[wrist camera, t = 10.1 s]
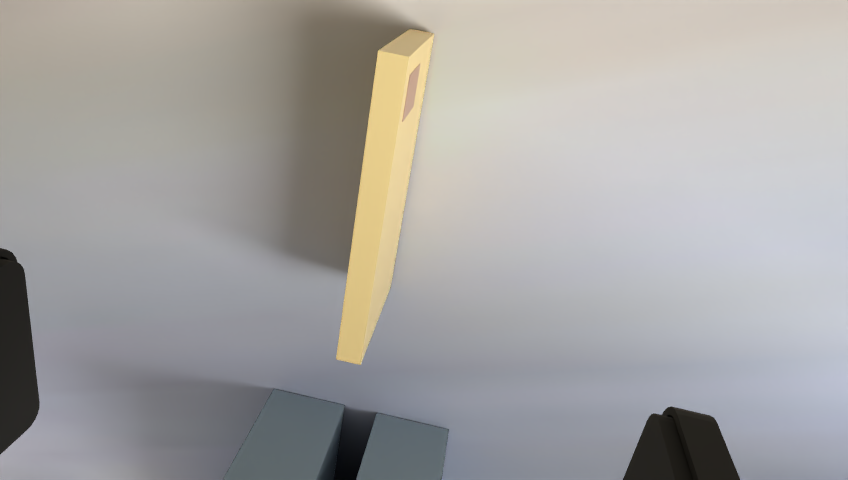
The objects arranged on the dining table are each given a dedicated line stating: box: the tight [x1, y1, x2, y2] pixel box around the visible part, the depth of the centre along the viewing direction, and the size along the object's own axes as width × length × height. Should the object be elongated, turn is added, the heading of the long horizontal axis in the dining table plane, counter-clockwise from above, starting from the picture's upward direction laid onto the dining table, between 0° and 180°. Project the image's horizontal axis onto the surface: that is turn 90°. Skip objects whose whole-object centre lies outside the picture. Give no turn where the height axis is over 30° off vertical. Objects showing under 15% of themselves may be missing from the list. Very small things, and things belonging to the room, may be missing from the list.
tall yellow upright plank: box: [336, 29, 434, 365], centre depth 25 cm, size 1×12×6 cm, turn 170°
